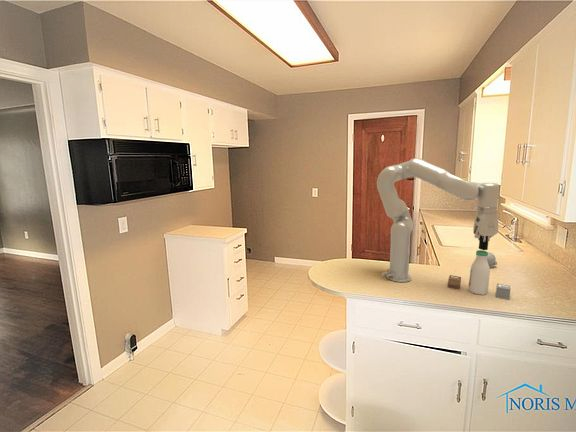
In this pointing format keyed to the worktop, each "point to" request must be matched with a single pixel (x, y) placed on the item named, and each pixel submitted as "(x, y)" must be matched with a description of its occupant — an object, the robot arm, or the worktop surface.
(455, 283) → the walnut block
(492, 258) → the chubby cartoon animal
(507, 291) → the slate grey block
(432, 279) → the worktop surface
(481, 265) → the milk bottle
